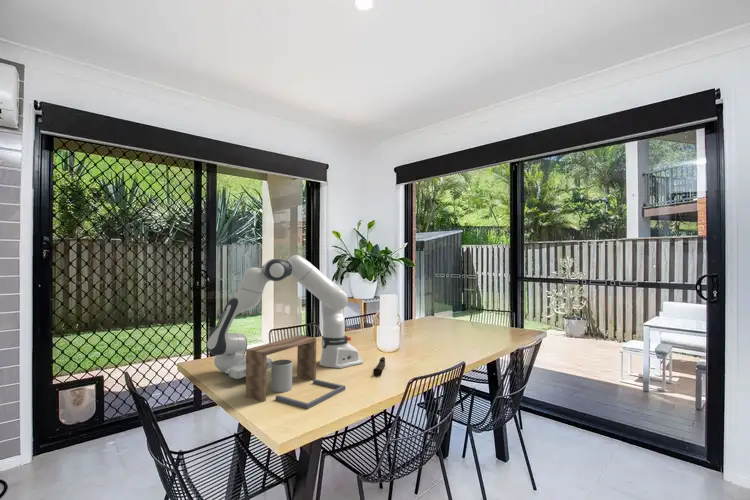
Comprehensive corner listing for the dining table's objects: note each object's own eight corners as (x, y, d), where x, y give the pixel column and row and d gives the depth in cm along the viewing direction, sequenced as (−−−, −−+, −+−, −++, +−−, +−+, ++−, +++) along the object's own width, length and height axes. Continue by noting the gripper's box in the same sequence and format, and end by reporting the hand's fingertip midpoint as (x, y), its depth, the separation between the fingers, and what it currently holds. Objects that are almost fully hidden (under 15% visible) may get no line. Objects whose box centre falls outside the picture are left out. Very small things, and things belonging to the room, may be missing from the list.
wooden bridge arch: (245, 396, 146) (246, 349, 147) (299, 375, 173) (299, 335, 173) (263, 401, 141) (264, 352, 142) (315, 379, 167) (316, 337, 168)
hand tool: (381, 377, 172) (381, 367, 172) (372, 376, 172) (373, 366, 173) (389, 365, 190) (389, 356, 190) (381, 365, 191) (381, 355, 191)
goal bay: (275, 399, 143) (275, 396, 143) (315, 382, 163) (315, 379, 163) (307, 409, 135) (307, 404, 135) (345, 389, 155) (345, 385, 155)
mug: (288, 393, 151) (288, 365, 151) (267, 392, 151) (268, 364, 152) (297, 382, 163) (297, 357, 163) (278, 382, 163) (278, 356, 164)
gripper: (222, 364, 161) (244, 369, 154) (259, 353, 179) (280, 358, 172) (222, 379, 161) (244, 385, 154) (259, 367, 179) (280, 371, 172)
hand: (263, 370), depth 163 cm, fingers closed
